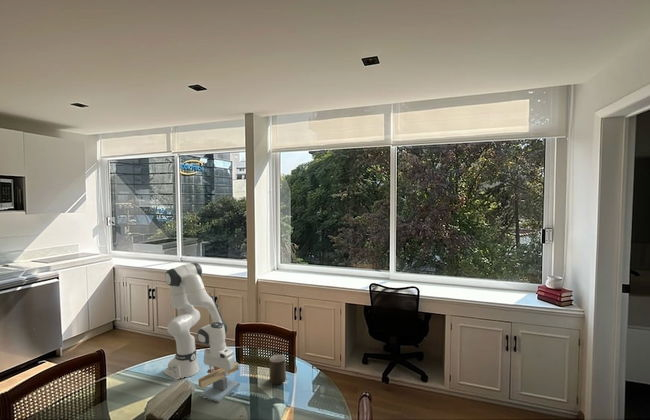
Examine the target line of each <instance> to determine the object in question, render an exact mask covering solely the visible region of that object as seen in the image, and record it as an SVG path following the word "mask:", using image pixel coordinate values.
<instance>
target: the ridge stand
mask: <svg viewBox="0 0 650 420" xmlns="http://www.w3.org/2000/svg"><path fill="white" fill-rule="evenodd" d="M240 385H241V382H240V381H236V380H233V379H232V380H231V379H228V377H227V376H226V377H224V378H222V379H220V380H218V381H216V382H214V383H212V384H210V385H209V386H207V388H206V389H204V390H203V391H202V392H201V393H199V396H200V395H201V396H203V397H206V398H209V399H212V400H215V401H217V402H216V403H221V402H222V401H223V400H224V399H225V398H227V396H228V395H230V394H231V393H233V391H234V390H236V389H237V388H238V387H239V386H240ZM209 399H208V400H209ZM222 399H223V400H222ZM212 400H211V401H212ZM221 400H222V401H221ZM215 401H214V402H215Z"/></svg>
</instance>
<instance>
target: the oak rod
mask: <svg viewBox="0 0 650 420" xmlns="http://www.w3.org/2000/svg"><path fill="white" fill-rule="evenodd" d="M234 364H235V366H234V368H233V369H231V370H229V371H228V375H227V376H229V375H231V374H232V373H235V372H237V371H238V370H239V369H240V368H239V362H237V361H234ZM224 372H225V369H222V368H220V369H218V370H216V371H214V372H212V373H208V374H206V375H204V376H202V377H200V378H198V387H200V388H201V389H204V388H206V387H207V388H208V387H210V386H211V385H212V384H213V383H214V382H216V381H218V380H220V379H222V378H224V377H226V378H227V376H224Z"/></svg>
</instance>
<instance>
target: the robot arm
mask: <svg viewBox="0 0 650 420" xmlns="http://www.w3.org/2000/svg"><path fill="white" fill-rule="evenodd" d="M202 274H203V269H202V266H201V265H200V264H199V263H197V262H191V263H187V264H186V263H185V264H183V265H179V266H176V267H174V268H170V269H168V270H166V271H165V274H164V280H165V283H166V284H167V285H168V286H169V289H170V290H169V291H170V297H171V303H172V304H171V305H172V307H173V308H174V309H177V311H178V315H177V316H175V317H174V318H173V319H171V320H170V321H169V322H168V323H167V326H166V329H167V332H168V334H169V335H171V336H172V337H174V340H175V347H176V351H175V352H174V354H173V355H175V356H174V357H173V358H172V359H170V361H169V362H168V363H167V368H165V369H164V371H163V374H164V375H167V376H168V377H171V378H172V379H175V380H181V379H185V378H184V377H186V378H191V377H192V376H195V375H196V374H198V372H199V371H200V367H199V366H200V363H199V362H198V355H197V348H196V339H195V335H193V334H191V332H190V331H191V330H190V329H191V328H193V327H194V326H196V325H197V324H198V322H199V321H200V319H201V313H200V311H199V310H198V309H197V308H199V307H200V308H205V309H206V310H208V311H207V312H208V313H209V314H210V317H211V320H212V322H211V323H209V324H207V325H205V326H202V327H200V328H199V329H198V331H197V335H196V337H197V341H198V342H199V343H200V344H202V345H209V348H208V347H207V348H204V354H203V363H204V365H207V366H208V368H209V369H211V372H214V371H215V369H214V367H218V368H222V369H225V372H224V376H226V377H227V376H229V375H228V371H229V370H231V369H233V368H234V366H235V364H234V357H233V355H232V354H234V350H233V349H231V348H230V347H228V346H227V343H226V333H227V331H228V325H227V323H226V321H225V320H224V318H223V317H222V314H221V312H220V309H219V307H218V306H217V303H216V302H215V299H214V298H213V297H212V296H210V295H209V294H208V292H207V291H206V288H205V285H204V282H203V279H202ZM195 307H197V308H195ZM213 366H214V367H213ZM180 378H181V379H180Z"/></svg>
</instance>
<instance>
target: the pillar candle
mask: <svg viewBox="0 0 650 420" xmlns="http://www.w3.org/2000/svg"><path fill="white" fill-rule="evenodd" d="M286 368H287V367H286V356H285V355H282V354H274V355H272V356H271V357H270V358H269V381H270V383H271V384H272V385H281V384H283V382H284V383H285V380H286V381H287V377H286V376H287V374H286V373H287V372H286V370H287V369H286Z"/></svg>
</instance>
